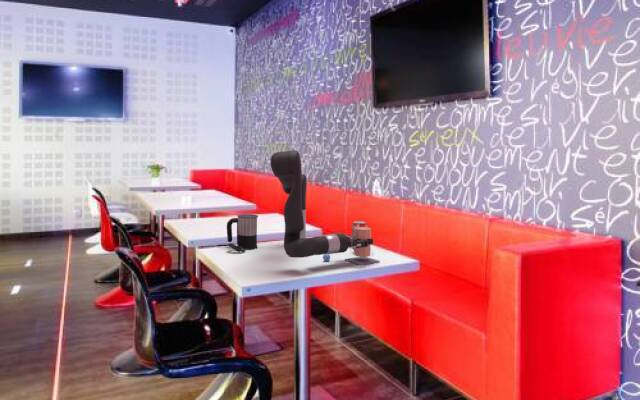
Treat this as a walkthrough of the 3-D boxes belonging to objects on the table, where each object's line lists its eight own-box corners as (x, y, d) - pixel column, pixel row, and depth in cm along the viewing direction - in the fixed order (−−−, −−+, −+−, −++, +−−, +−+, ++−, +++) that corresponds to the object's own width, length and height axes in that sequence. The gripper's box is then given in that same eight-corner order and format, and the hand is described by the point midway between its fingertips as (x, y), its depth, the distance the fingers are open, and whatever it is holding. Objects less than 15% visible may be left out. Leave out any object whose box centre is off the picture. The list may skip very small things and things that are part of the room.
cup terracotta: (351, 254, 202) (352, 227, 201) (363, 252, 206) (364, 226, 205) (361, 257, 197) (361, 229, 196) (373, 255, 201) (373, 228, 199)
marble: (321, 260, 202) (321, 253, 202) (327, 259, 204) (327, 252, 204) (325, 262, 200) (325, 254, 200) (331, 261, 202) (331, 254, 201)
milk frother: (255, 245, 231) (255, 213, 229) (262, 252, 216) (262, 218, 215) (224, 246, 227) (224, 214, 225) (229, 254, 212) (229, 219, 210)
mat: (344, 260, 203) (344, 259, 203) (364, 257, 209) (364, 256, 209) (360, 265, 195) (360, 264, 195) (379, 262, 201) (379, 261, 201)
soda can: (366, 250, 224) (366, 223, 222) (350, 249, 225) (350, 223, 224) (367, 247, 230) (368, 221, 229) (352, 246, 232) (353, 220, 230)
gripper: (344, 237, 187) (379, 233, 196) (323, 231, 198) (356, 228, 208) (344, 256, 187) (378, 252, 197) (323, 249, 199) (356, 245, 209)
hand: (367, 239), depth 202 cm, fingers closed on cup terracotta, 6 cm apart
